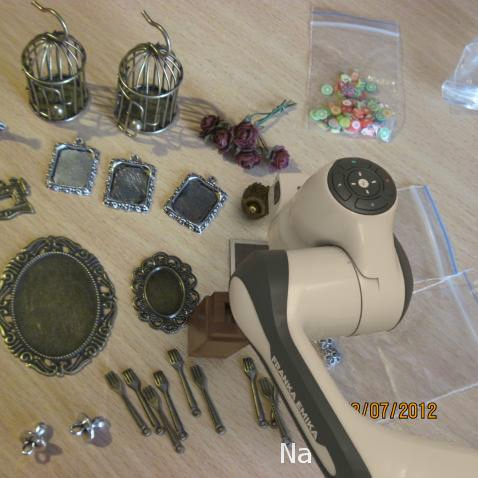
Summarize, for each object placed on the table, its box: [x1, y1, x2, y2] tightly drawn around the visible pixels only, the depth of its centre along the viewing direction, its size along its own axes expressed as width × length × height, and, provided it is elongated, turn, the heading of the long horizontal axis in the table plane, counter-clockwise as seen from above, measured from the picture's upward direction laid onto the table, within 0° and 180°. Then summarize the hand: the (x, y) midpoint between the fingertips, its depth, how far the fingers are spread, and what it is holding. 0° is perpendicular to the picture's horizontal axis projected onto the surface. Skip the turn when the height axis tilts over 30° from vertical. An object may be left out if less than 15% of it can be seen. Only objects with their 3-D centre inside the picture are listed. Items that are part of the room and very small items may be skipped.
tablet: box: [229, 238, 269, 278], centre depth 118 cm, size 22×16×1 cm
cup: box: [240, 181, 271, 221], centre depth 121 cm, size 8×7×8 cm
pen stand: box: [187, 290, 250, 360], centre depth 102 cm, size 8×8×25 cm
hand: (271, 266), depth 82 cm, fingers closed
